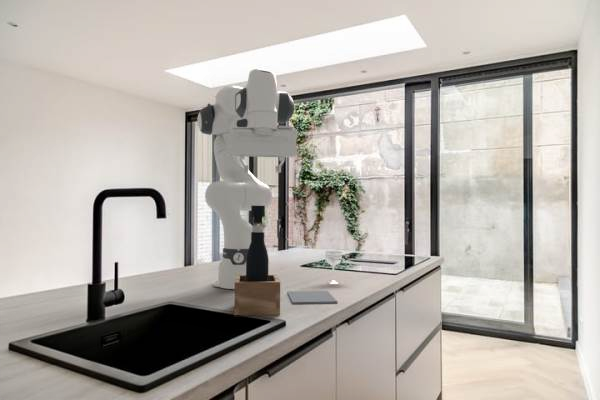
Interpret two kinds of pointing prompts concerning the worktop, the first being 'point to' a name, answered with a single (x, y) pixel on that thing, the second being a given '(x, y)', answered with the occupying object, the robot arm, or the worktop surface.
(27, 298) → the worktop surface
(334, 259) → the wineglass
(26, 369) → the worktop surface
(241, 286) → the walnut crate
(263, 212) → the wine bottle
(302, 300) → the grey mat
